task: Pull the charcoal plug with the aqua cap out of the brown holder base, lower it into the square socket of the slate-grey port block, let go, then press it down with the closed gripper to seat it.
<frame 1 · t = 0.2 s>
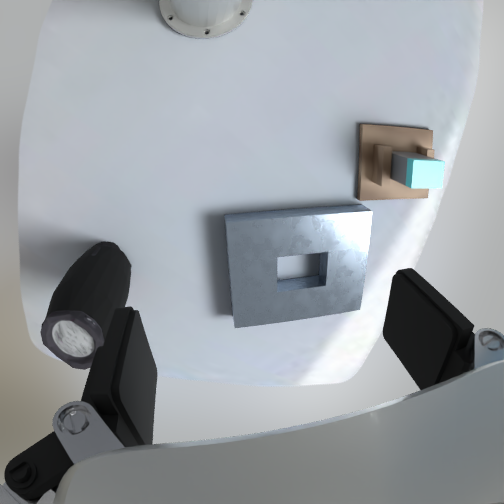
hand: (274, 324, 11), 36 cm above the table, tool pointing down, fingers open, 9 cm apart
brown holder base: (395, 162, 48), on the table
port: (296, 262, 52), on the table
plug: (399, 163, 47), point 1 cm above the table, touching brown holder base
portable speaker: (108, 263, 48), on the table
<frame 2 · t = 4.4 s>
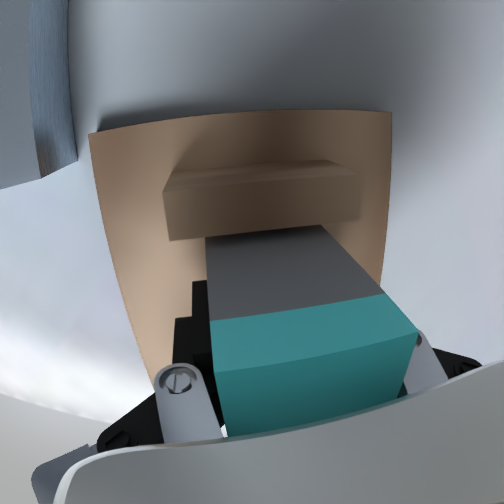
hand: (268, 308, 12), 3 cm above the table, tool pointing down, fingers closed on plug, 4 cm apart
brown holder base: (255, 270, 15), on the table
plug: (259, 280, 14), point 1 cm above the table, touching gripper, brown holder base
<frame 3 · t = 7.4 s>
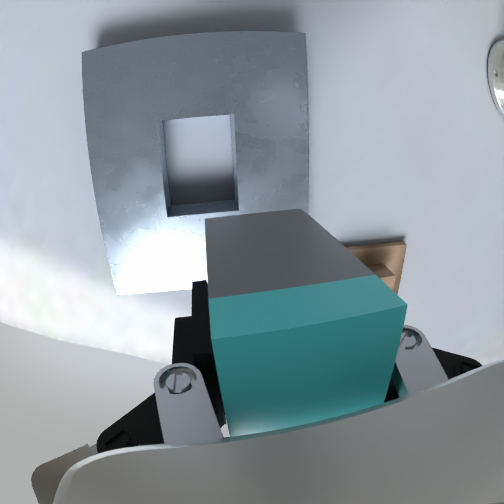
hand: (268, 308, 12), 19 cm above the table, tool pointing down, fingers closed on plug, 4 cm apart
brown holder base: (351, 299, 37), on the table
port: (199, 160, 28), on the table
plug: (258, 279, 14), point 17 cm above the table, touching gripper
when the fingers open (5 cm above the table, at t = 10.9 s): plug drops 2 cm, resting in port.
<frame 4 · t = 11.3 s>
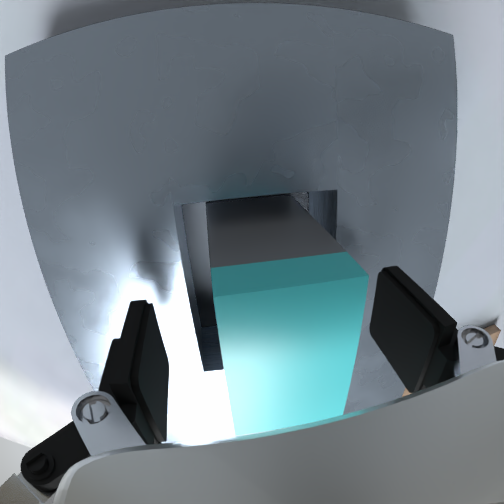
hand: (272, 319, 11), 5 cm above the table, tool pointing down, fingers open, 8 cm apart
port: (250, 256, 16), on the table
plug: (252, 257, 16), resting in port
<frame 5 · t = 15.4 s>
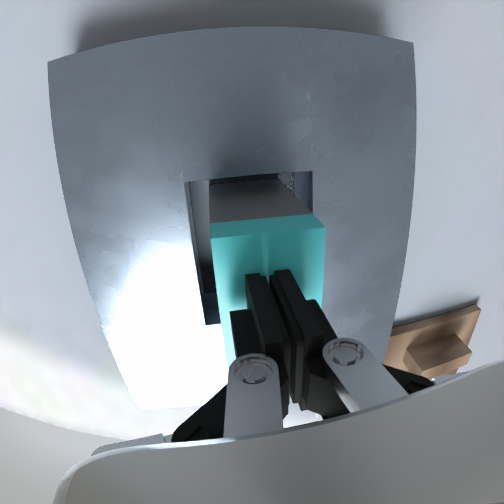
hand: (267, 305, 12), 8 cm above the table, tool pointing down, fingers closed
brown holder base: (414, 371, 28), on the table
port: (245, 229, 19), on the table
plug: (247, 230, 19), resting in port, touching gripper
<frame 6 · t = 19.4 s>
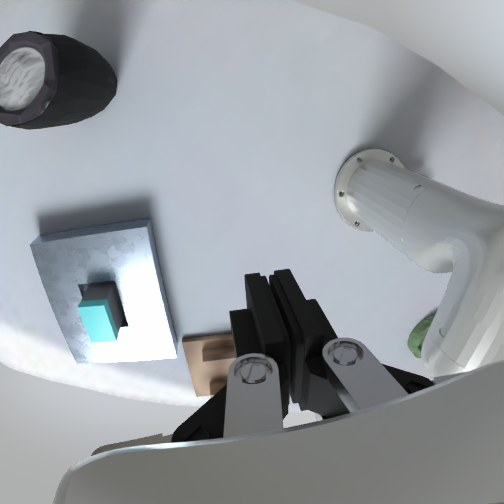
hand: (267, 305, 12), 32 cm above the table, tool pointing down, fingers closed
brown holder base: (223, 364, 55), on the table
port: (108, 293, 46), on the table
decorative artifact: (425, 332, 62), on the table
plug: (109, 294, 46), resting in port
portable speaker: (90, 88, 34), on the table
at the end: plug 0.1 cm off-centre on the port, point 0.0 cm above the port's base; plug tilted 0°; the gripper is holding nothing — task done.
